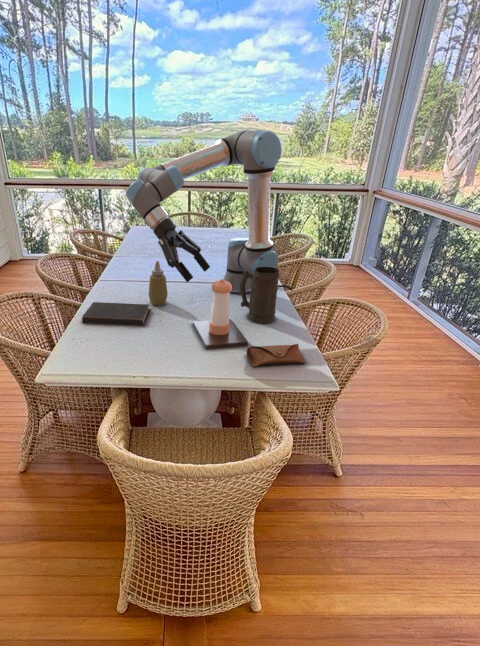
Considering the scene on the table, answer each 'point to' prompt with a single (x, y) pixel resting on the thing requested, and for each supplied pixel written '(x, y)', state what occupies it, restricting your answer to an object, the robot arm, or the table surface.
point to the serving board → (219, 336)
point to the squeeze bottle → (157, 286)
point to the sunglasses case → (274, 355)
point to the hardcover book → (116, 313)
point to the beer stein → (261, 294)
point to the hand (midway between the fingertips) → (199, 274)
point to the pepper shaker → (220, 308)
